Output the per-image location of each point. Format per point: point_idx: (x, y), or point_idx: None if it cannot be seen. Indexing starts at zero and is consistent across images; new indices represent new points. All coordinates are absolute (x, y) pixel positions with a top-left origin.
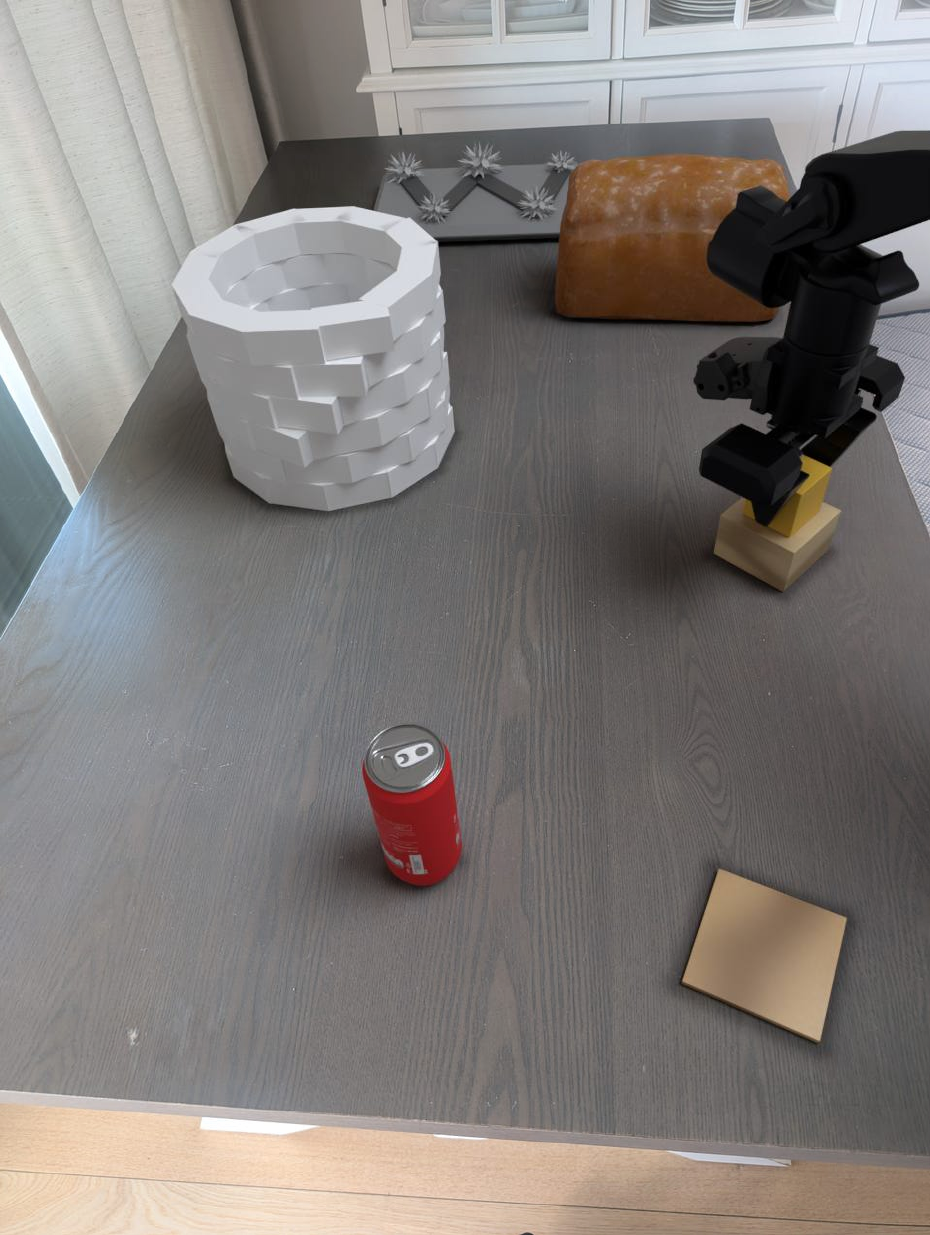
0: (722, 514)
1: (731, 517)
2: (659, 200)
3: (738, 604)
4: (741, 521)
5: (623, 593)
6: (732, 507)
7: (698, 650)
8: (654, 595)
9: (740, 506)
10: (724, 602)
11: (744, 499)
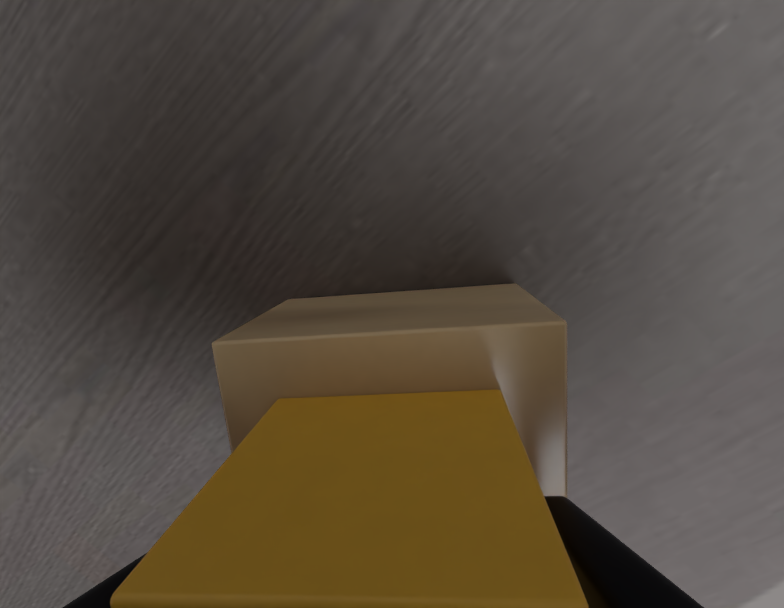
0: (215, 346)
1: (231, 380)
2: None
3: (209, 448)
4: (240, 423)
5: (9, 238)
6: (276, 347)
7: (51, 468)
8: (68, 296)
9: (304, 366)
10: (188, 424)
11: (352, 349)
